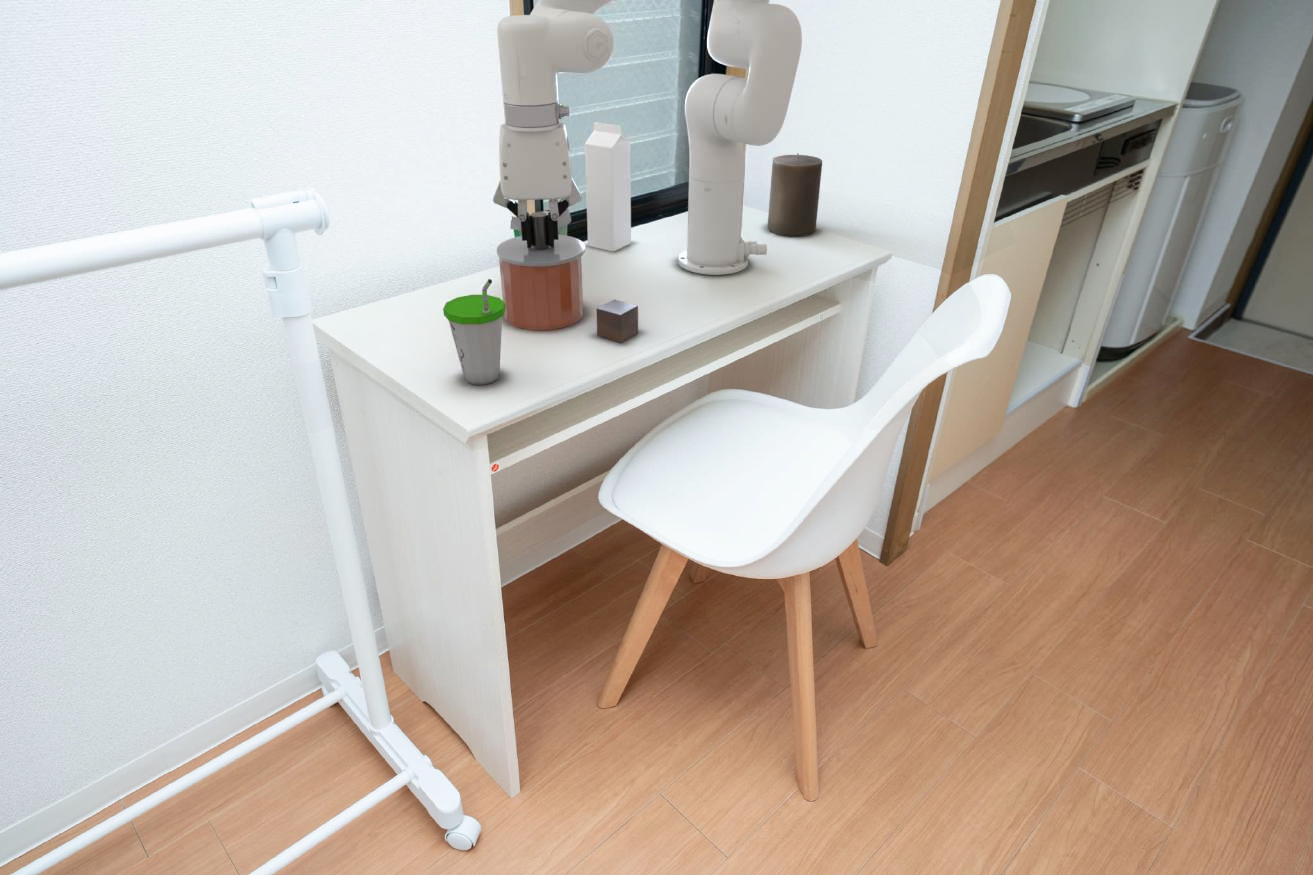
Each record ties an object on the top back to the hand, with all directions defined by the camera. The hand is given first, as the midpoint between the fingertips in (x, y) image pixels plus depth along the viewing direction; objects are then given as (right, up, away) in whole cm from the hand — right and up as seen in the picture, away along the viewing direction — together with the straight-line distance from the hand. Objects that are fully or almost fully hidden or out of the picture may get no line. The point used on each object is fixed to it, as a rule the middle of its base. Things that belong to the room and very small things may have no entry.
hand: (540, 243), depth 126 cm
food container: (-1, +1, +24) cm, 24 cm away
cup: (-6, -21, -13) cm, 25 cm away
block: (+12, -14, 0) cm, 18 cm away
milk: (+8, +8, +35) cm, 37 cm away
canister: (0, -10, +6) cm, 11 cm away
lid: (0, -1, +1) cm, 1 cm away
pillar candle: (+45, +13, +44) cm, 64 cm away
